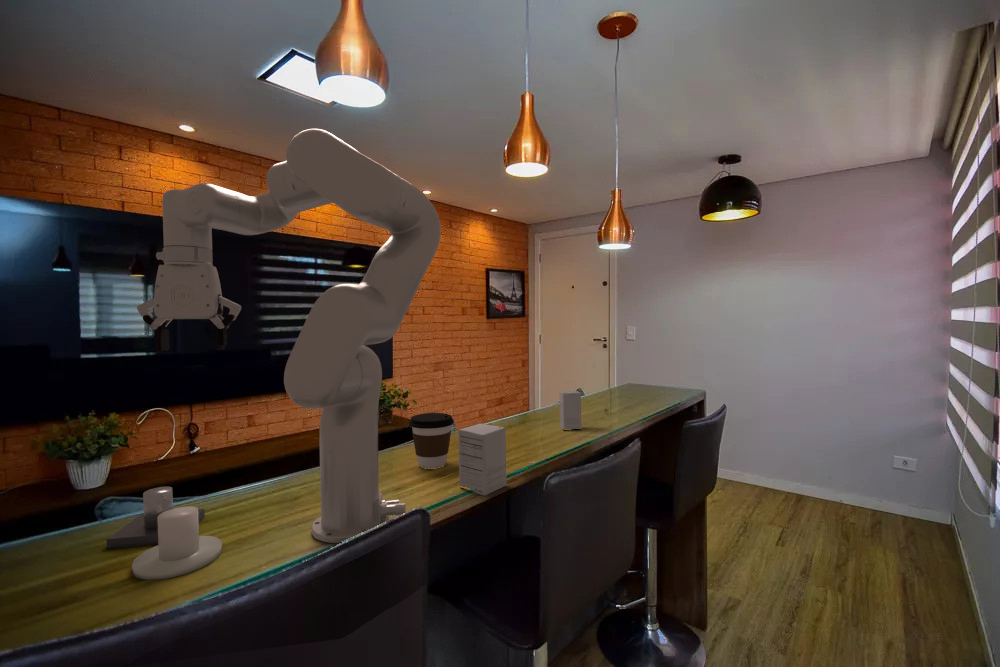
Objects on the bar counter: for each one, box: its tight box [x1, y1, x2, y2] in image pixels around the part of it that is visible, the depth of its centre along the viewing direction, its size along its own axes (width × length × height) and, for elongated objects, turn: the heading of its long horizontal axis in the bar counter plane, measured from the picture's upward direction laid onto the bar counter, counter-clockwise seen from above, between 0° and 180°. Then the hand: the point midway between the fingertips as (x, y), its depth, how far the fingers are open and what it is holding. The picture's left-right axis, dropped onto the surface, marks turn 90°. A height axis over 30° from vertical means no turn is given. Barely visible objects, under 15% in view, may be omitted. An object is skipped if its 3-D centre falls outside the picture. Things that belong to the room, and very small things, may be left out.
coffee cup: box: [408, 412, 455, 469], centre depth 113 cm, size 11×11×12 cm
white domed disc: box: [131, 535, 223, 581], centre depth 69 cm, size 11×11×1 cm
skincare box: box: [558, 390, 582, 430], centre depth 149 cm, size 6×4×12 cm
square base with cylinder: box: [105, 486, 206, 549], centre depth 79 cm, size 10×10×7 cm
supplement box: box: [458, 423, 507, 497], centre depth 98 cm, size 7×7×13 cm
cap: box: [157, 505, 200, 561], centre depth 70 cm, size 6×5×6 cm
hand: (191, 350), depth 87 cm, fingers open, 9 cm apart
